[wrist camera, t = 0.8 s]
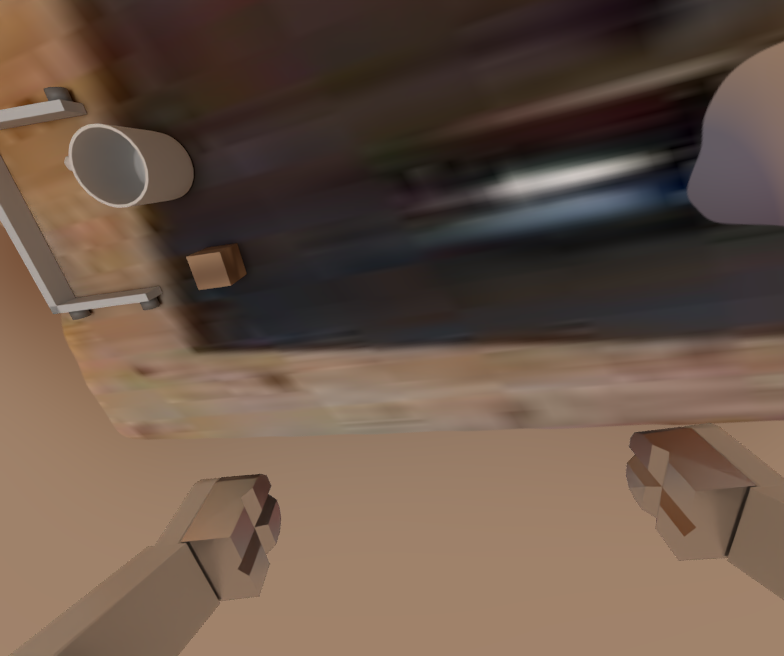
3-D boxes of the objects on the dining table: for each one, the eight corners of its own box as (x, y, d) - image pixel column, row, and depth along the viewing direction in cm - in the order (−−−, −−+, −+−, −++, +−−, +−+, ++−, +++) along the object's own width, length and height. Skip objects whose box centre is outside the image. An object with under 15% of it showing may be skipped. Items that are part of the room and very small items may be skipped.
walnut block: (206, 247, 46) (186, 256, 42) (237, 243, 46) (219, 251, 41) (217, 277, 48) (198, 289, 43) (246, 273, 48) (230, 285, 43)
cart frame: (-34, 108, 40) (-65, 104, 37) (76, 88, 39) (52, 83, 37) (77, 315, 50) (58, 324, 47) (166, 303, 49) (153, 311, 47)
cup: (200, 201, 44) (155, 210, 36) (116, 195, 44) (52, 203, 36) (190, 134, 41) (139, 126, 33) (100, 127, 41) (26, 118, 33)
